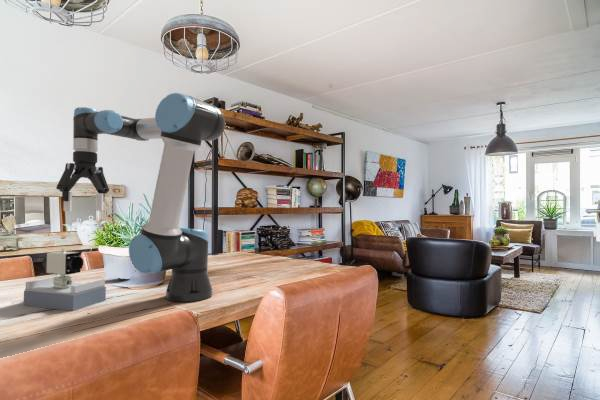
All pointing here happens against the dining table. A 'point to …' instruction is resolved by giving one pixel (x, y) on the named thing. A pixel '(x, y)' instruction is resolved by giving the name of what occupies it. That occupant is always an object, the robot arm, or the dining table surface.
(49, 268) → the pneumatic valve
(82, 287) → the grey piece
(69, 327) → the dining table surface
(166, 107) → the robot arm
